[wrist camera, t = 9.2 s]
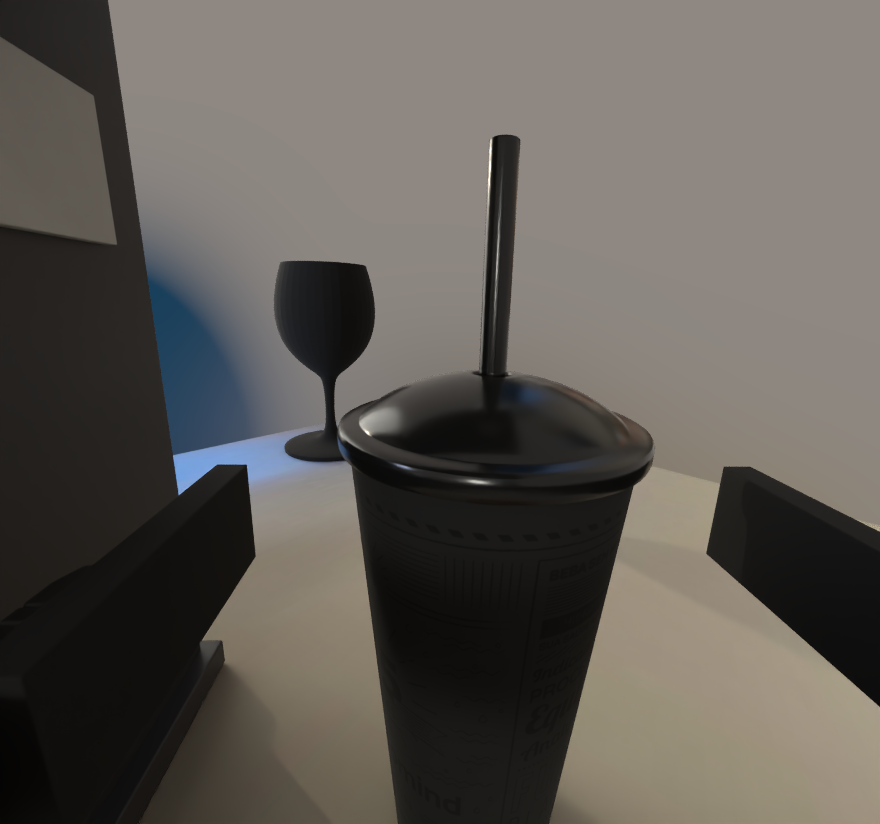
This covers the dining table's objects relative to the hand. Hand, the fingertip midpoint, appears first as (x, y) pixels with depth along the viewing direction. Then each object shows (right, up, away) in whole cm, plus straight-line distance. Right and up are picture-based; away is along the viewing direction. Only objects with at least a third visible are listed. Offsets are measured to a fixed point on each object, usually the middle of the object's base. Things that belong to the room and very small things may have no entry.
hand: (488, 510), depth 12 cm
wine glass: (-14, -1, +38) cm, 41 cm away
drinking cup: (0, -11, +3) cm, 11 cm away
